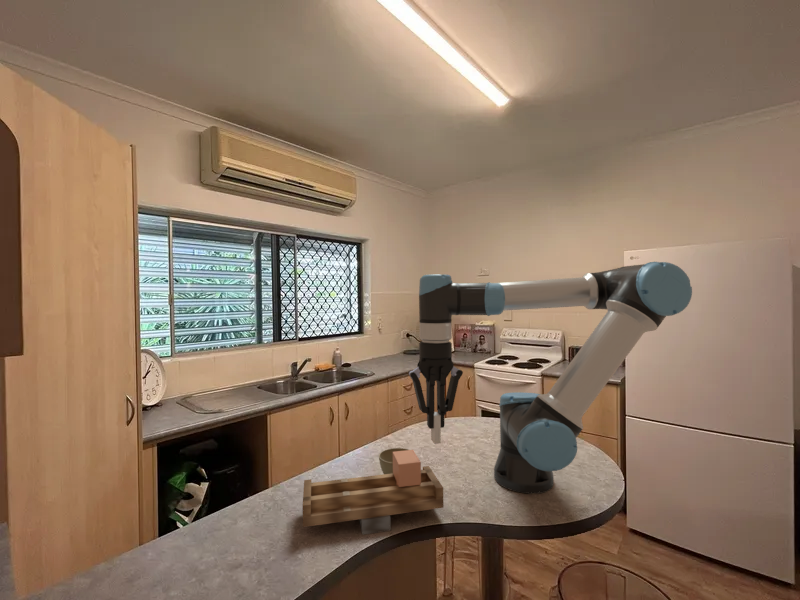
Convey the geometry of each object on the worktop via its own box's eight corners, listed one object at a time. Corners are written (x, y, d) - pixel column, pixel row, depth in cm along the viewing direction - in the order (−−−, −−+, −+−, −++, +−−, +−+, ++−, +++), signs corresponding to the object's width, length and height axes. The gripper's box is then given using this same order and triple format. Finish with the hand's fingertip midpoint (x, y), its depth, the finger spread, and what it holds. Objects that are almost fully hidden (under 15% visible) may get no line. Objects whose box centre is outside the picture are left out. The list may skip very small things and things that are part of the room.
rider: (413, 480, 91) (412, 449, 91) (421, 495, 85) (420, 462, 84) (393, 482, 90) (392, 451, 90) (399, 497, 83) (398, 464, 83)
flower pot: (413, 492, 96) (412, 464, 96) (374, 489, 98) (374, 461, 98) (419, 474, 106) (418, 448, 106) (384, 471, 108) (383, 446, 108)
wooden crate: (428, 494, 95) (428, 464, 95) (444, 522, 83) (444, 488, 83) (304, 510, 88) (304, 478, 88) (303, 543, 77) (302, 506, 77)
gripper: (456, 338, 94) (456, 433, 94) (404, 339, 91) (405, 437, 91) (467, 341, 86) (468, 445, 87) (412, 343, 84) (412, 450, 84)
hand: (435, 441), depth 89 cm, fingers closed
